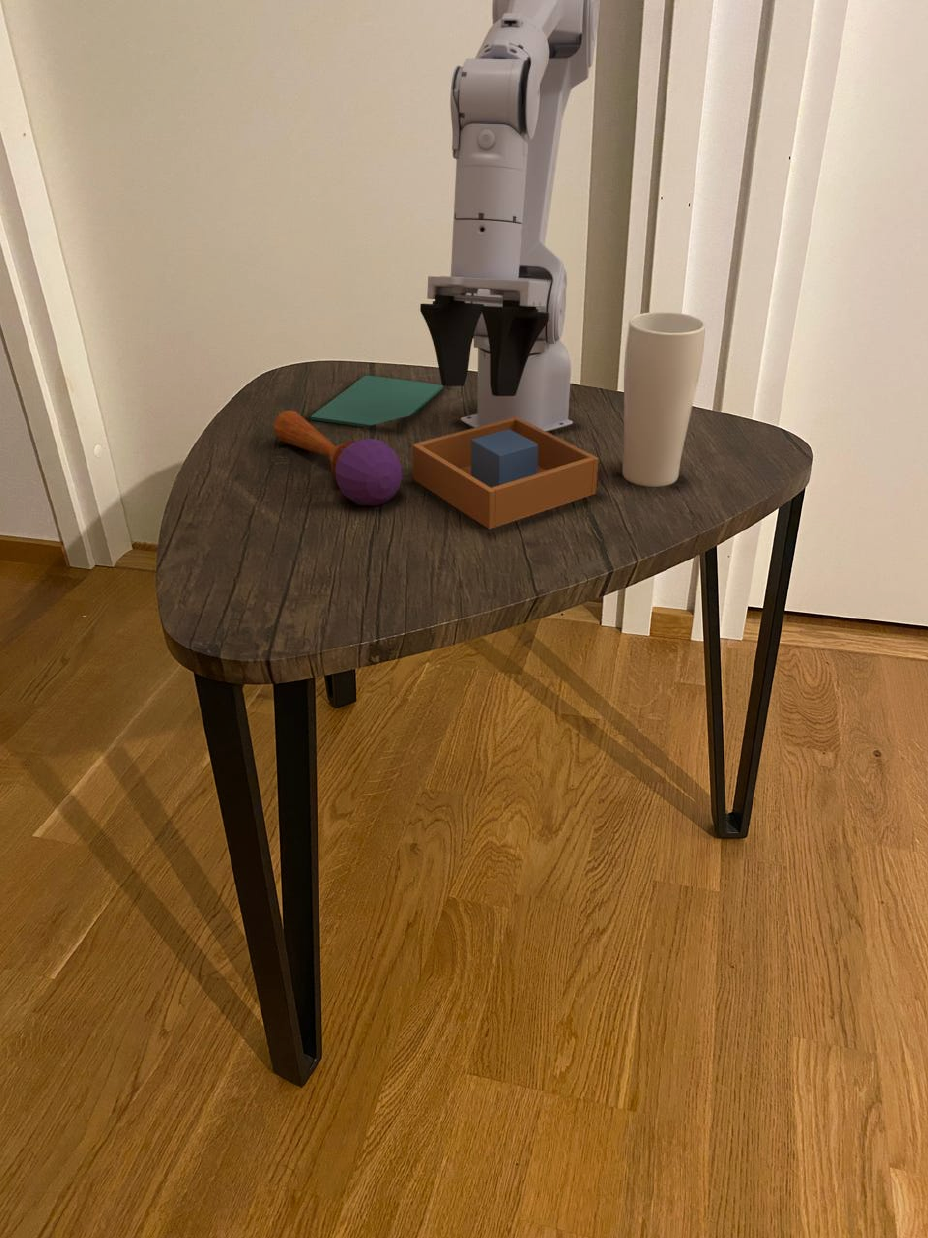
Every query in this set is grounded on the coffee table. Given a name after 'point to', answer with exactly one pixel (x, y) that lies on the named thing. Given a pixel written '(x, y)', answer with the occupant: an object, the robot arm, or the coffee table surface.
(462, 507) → the bin
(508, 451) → the block
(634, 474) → the white vase
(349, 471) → the maraca
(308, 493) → the coffee table surface
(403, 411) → the mat
